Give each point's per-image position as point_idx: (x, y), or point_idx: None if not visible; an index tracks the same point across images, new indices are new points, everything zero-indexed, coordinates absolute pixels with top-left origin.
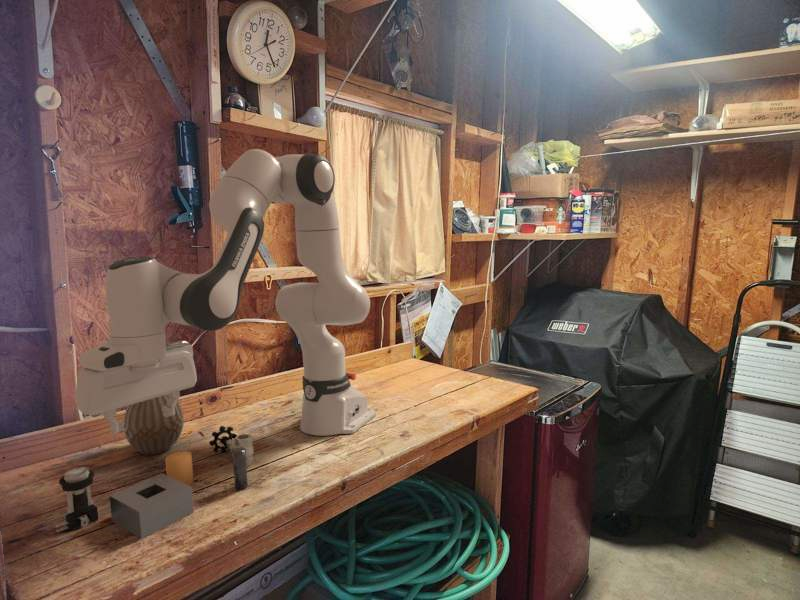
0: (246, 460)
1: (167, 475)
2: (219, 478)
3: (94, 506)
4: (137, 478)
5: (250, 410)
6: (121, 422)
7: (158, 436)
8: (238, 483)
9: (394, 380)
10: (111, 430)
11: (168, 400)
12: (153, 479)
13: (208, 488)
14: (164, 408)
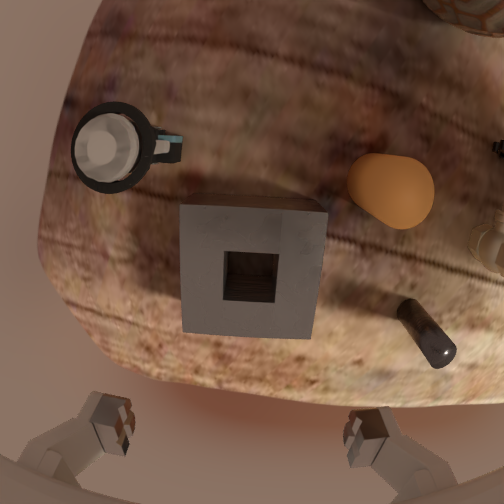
0: (480, 260)
1: (358, 177)
2: (422, 243)
3: (169, 158)
4: (340, 60)
5: None
6: (115, 451)
7: (455, 15)
8: (402, 323)
9: None
10: (91, 396)
11: (405, 456)
12: (294, 225)
13: (383, 258)
14: (358, 447)
